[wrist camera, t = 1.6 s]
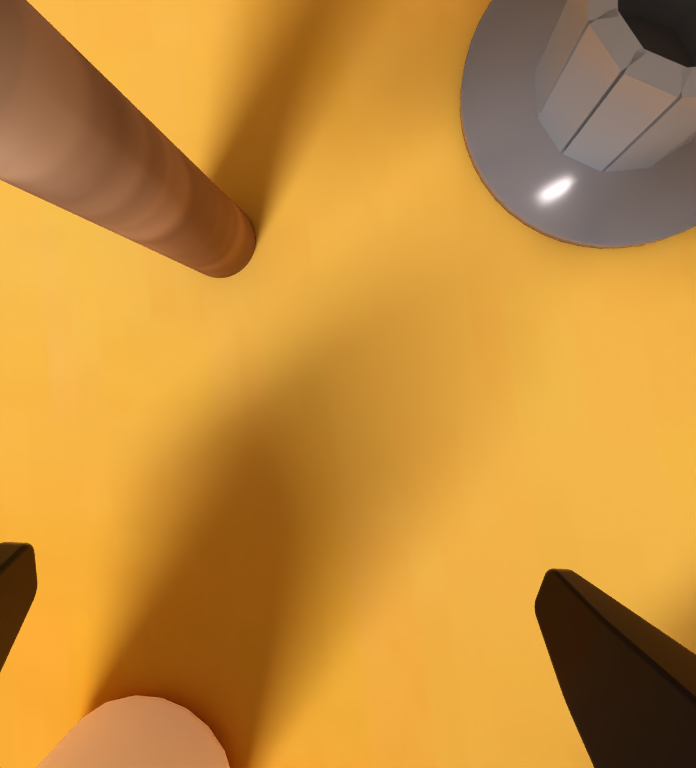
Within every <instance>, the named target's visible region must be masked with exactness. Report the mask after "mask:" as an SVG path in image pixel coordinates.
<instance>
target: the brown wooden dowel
mask: <svg viewBox="0 0 696 768" xmlns="http://www.w3.org/2000/svg"><path fill="white" fill-rule="evenodd" d="M0 180H2V181H4V182H6V183H9V184H11V185H13V186H15V187H17V188H19V189H21V190H24V191H26V192H28V193H30V194H32V195H34V196H37V197H39V198H41V199H43V200H45V201H47V202H50V203H52V204H54V205H56V206H58V207H60V208H62V209H65V210H67V211H69V212H71V213H73V214H75V215H78V216H80V217H82V218H84V219H86V220H88V221H90V222H93V223H95V224H97V225H99V226H101V227H103V228H106V229H108V230H110V231H112V232H114V233H116V234H119V235H121V236H123V237H125V238H127V239H129V240H131V241H134V242H136V243H138V244H140V245H142V246H144V247H147V248H149V249H151V250H153V251H155V252H157V253H159V254H162V255H164V256H166V257H168V258H170V259H172V260H175V261H177V262H179V263H181V264H183V265H185V266H188V267H190V268H192V269H194V270H196V271H198V272H200V273H203V274H205V275H207V276H210V277H215V278H224V277H229V276H232V275H234V274H236V273H238V272H239V271H241V270H242V269H243V268H244V267H245V266H246V265H247V264H248V262H249V261H250V259H251V257H252V255H253V252H254V249H255V231H254V227H253V225H252V223H251V221H250V219H249V218H248V216H247V215H246V214H245V213H244V212H243V211H242V210H241V209H240V208H239V207H238V206H237V205H236V204H235V203H234V202H233V201H232V200H231V199H230V198H229V197H228V196H226V195H225V194H224V193H223V192H222V191H221V190H220V189H219V188H218V187H217V186H216V185H215V184H214V183H213V182H212V181H211V180H210V179H209V178H208V177H207V176H206V175H205V174H204V173H203V172H202V171H201V170H200V169H199V168H198V167H197V166H196V165H195V164H194V163H193V162H192V161H191V160H190V159H189V158H188V157H186V156H185V155H184V154H183V153H182V152H181V151H180V150H179V149H178V148H177V147H176V146H175V145H174V144H173V143H172V142H171V141H170V140H169V139H168V138H167V137H166V136H165V135H164V134H163V133H162V132H161V131H160V130H159V129H158V128H157V127H156V126H155V125H154V124H153V123H152V122H151V121H150V120H149V119H147V118H146V117H145V116H144V115H143V114H142V113H141V112H140V111H139V110H138V109H137V108H136V107H135V106H134V105H133V104H132V103H131V102H130V101H129V100H128V99H127V98H126V97H125V96H124V95H123V94H122V93H121V92H120V91H119V90H118V89H117V88H116V87H115V86H114V85H113V84H112V83H111V82H110V81H108V80H107V79H106V78H105V77H104V76H103V75H102V74H101V73H100V72H99V71H98V70H97V69H96V68H95V67H94V66H93V65H92V64H91V63H90V62H89V61H88V60H87V59H86V58H85V57H84V56H83V55H82V54H81V53H80V52H79V51H78V50H77V49H76V48H75V47H74V46H73V45H72V44H71V43H70V42H68V41H67V40H66V39H65V38H64V37H63V36H62V35H61V34H60V33H59V32H58V31H57V30H56V29H55V28H54V27H53V26H52V25H51V24H50V23H49V22H48V21H47V20H46V19H45V18H44V17H43V16H42V15H41V14H40V13H39V12H38V11H37V10H36V9H35V8H34V7H33V6H32V5H31V4H29V3H28V2H27V1H26V0H0Z"/></svg>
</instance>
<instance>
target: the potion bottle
mask: <svg viewBox="0 0 696 768" xmlns="http://www.w3.org/2000/svg"><path fill="white" fill-rule="evenodd" d="M37 768H230V766H229V763H228V760H227V757H226V753H225V750H224V749H223V747H222V746H221V744H220V743H219V741H218V740H217V738H216V737H215V735H214V734H213V732H212V731H211V729H210V728H209V727H208V726H207V725H206V724H205V723H204V722H203V721H201V720H200V719H199V718H198V717H197V716H195V715H194V714H193V713H192V712H191V711H189V710H188V709H187V708H185V707H182V706H180V705H178V704H175V703H173V702H171V701H168V700H166V699H164V698H159V697H149V696H139V695H134V696H130V697H125V698H121V699H117V700H113V701H108V702H106V703H104V704H103V705H101V706H99V707H98V708H96V709H95V710H93V711H92V712H90V713H89V714H87V715H86V716H84V717H83V718H82V719H80V720H79V721H78V723H77V724H76V725H75V726H74V727H73V728H72V729H71V730H70V731H69V732H68V734H67V735H66V736H65V737H64V738H63V739H62V740H61V741H60V742H59V743H58V745H57V746H56V747H55V748H54V749H53V750H52V751H51V752H50V753H49V755H48V756H47V757H46V758H45V759H44V760H43V761H42V762H41V763H40V764H39V766H38V767H37Z"/></svg>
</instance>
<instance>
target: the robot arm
mask: <svg viewBox="0 0 696 768" xmlns="http://www.w3.org/2000/svg"><path fill="white" fill-rule="evenodd" d="M36 590H37V573H36V563H35V553H34V548H33V547H32V545H31V544H29V543H16V542H4V543H0V672H1V670H2V667H3V665H4V663H5V661H6V659H7V656H8V654H9V652H10V650H11V648H12V646H13V643H14V641H15V639H16V637H17V635H18V633H19V630H20V628H21V626H22V624H23V622H24V619H25V617H26V615H27V613H28V611H29V609H30V606H31V604H32V602H33V600H34V597H35V594H36ZM535 614H536V618H537V620H538V623H539V626H540V629H541V632H542V635H543V638H544V641H545V644H546V647H547V650H548V653H549V656H550V659H551V662H552V665H553V668H554V671H555V674H556V676H557V679H558V682H559V685H560V688H561V691H562V693H563V696H564V699H565V701H566V704H567V706H568V709H569V711H570V713H571V716H572V718H573V720H574V723H575V725H576V727H577V729H578V732H579V734H580V736H581V738H582V741H583V743H584V745H585V748H586V750H587V752H588V754H589V757H590V759H591V761H592V763H593V766H594V768H696V655H695V654H694V653H693V652H691V651H690V650H688V649H687V648H685V647H684V646H682V645H681V644H679V643H678V642H676V641H675V640H673V639H672V638H670V637H669V636H668V635H666V634H665V633H663V632H662V631H660V630H659V629H657V628H656V627H654V626H653V625H651V624H650V623H648V622H647V621H646V620H644V619H643V618H641V617H640V616H638V615H637V614H635V613H634V612H632V611H631V610H629V609H628V608H626V607H625V606H624V605H622V604H621V603H619V602H618V601H616V600H615V599H613V598H612V597H610V596H609V595H607V594H606V593H604V592H603V591H601V590H600V589H599V588H597V587H596V586H594V585H593V584H591V583H590V582H588V581H587V580H585V579H584V578H582V577H581V576H579V575H578V574H577V573H575V572H573V571H572V570H568V569H549V570H548V571H547V572H546V574H545V576H544V579H543V581H542V584H541V587H540V589H539V592H538V595H537V597H536V600H535Z"/></svg>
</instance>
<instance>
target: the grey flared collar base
mask: <svg viewBox="0 0 696 768" xmlns="http://www.w3.org/2000/svg"><path fill="white" fill-rule="evenodd" d="M460 117H461V126H462V132H463V136H464V141H465V145H466V149H467V151H468V154H469V156H470V159H471V161H472V164H473V166H474V168H475V170H476V172H477V174H478V175H479V177H480V179H481V181H482V183H483V184H484V185H485V187H486V188H487V189H488V191H489V192H490V193H491V195H492V196H493V197H494V199H495V200H496V201H497V202H498V203H499V204H500V205H501V206H502V207H503V208H504V209H505V210H506V211H507V212H508V213H510V214H511V215H512V216H514V217H515V218H516V219H518V220H519V221H520V222H522V223H523V224H524V225H526V226H528V227H530V228H532V229H533V230H535V231H537V232H539V233H541V234H543V235H545V236H548V237H550V238H553V239H556V240H558V241H561V242H565V243H569V244H573V245H577V246H583V247H591V248H600V249H601V248H627V247H634V246H641V245H646V244H649V243H653V242H657V241H661V240H664V239H666V238H669V237H671V236H674V235H676V234H679V233H681V232H684V231H686V230H688V229H690V228H692V227H694V226H696V0H492V1H491V2H490V4H489V6H488V8H487V9H486V11H485V13H484V15H483V16H482V18H481V20H480V22H479V24H478V26H477V29H476V31H475V33H474V36H473V38H472V40H471V44H470V47H469V51H468V54H467V58H466V61H465V66H464V70H463V77H462V83H461V90H460Z"/></svg>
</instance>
